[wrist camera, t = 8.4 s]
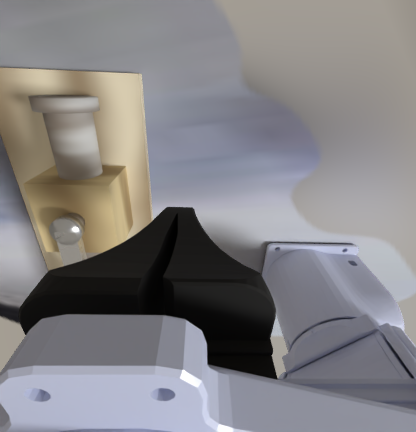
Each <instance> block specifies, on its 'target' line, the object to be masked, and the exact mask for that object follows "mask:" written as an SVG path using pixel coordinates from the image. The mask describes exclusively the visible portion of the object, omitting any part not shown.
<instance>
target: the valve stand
mask: <svg viewBox="0 0 416 432" xmlns="http://www.w3.org/2000/svg"><path fill="white" fill-rule="evenodd" d="M0 134H1V137H2V140H3V143H4V146H5V148H6V151H7V154H8V157H9V160H10V163H11V165H12V168H13V171H14V174H15V177H16V180H17V182H18V185H19V188H20V191H21V194H22V197H23V200H24V202H25V205H26V208H27V211H28V214H29V217H30V219H31V222H32V225H33V228H34V231H35V234H36V236H37V239H38V242H39V245H40V248H41V251H42V253H43V256H44V259H45V262H46V265H47V268H48V271H49V270H52V269H56V268H59V267H62V266H64V265H63V262H62V258H61V255H60V251H59V248H58V244H57V241H55V240H54V239H53V238H52V236H51V235H50V233H49V226H50V224H51V223H52V222H53V221H54V220H55V219H56V218H57V217H59V216H61V215H71V216H74V217H76V218H78V219H79V220H80V221H81V222H82V223H83V225H84V228H85V232H84V234H83V236H82V239H83V243H84V247H85V252H86V256H87V259H88V258H90V257H93V256H95V255H98V254H100V253H103V252H105V251H107V250H109V249H111V248H113V247H115V246H117V245H119V244H121V243H123V242H124V241H126V240H128V239H129V238H131V237H132V236H134V235H135V234H137V233H138V232H140V231H141V230H142V229H143V228H145V227H146V226H147V225H148V224H149V223H151V222H152V221H153V214H152V201H151V188H150V175H149V163H148V150H147V137H146V124H145V111H144V99H143V86H142V74H133V73H111V72H88V71H66V70H44V69H21V68H0Z"/></svg>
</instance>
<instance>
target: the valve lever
mask: <svg viewBox="0 0 416 432" xmlns="http://www.w3.org/2000/svg"><path fill="white" fill-rule="evenodd" d="M84 232H85V228H84V225H83V223H82V222H81V221H80V220H79V219H78V218H76V217H74V216H71V215H61V216H59V217H57V218H56V219H55V220H54V221H53V222H52V223H51V224H50V226H49V233H50V235H51V236H52V238H53V239H54V240H55V241H57V244H58V248H59V251H60V255H61V258H62V262H63V265H64V266H66V265H69V264H73V263H76V262H79V261H82V260H85V259H87V256H86V252H85V247H84V243H83V239H82V236H83V234H84Z"/></svg>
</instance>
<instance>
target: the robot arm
mask: <svg viewBox="0 0 416 432" xmlns="http://www.w3.org/2000/svg"><path fill="white" fill-rule="evenodd" d="M276 247H279V248H278V249H275V248H276ZM343 249H344V250H343ZM358 251H359V248H358V246H356V245H343V244H293V243H270V244H269V245H268V246H267V250H266V255H265V261H264V266H263V271H262V275H261V274H260V273H259V272H257V271H255V270H253V269H250V268H248V267H246V266H244V265H242V264H241V263H239V262H237V261H236V260H234V259H233V258H231V257H230V256H228V255H227V254H226V253H225V252H223V251H222V250H221V249H220V248H219V247H217V245H216V244H215V243H214V242H213V241H212V240H211V239H210V238H209V236H208V235H207V234H206V232H205V231H204V229H203V228H202V226H201V224H200V223H199V221H198V219H197V217H196V214H195V211H194V209H193V208H189V207H167V208H165V209H164V210H163V211H162V212H161V213H160V214H159V215H158V216H157V217H156V218H155V219H154V220H153V221H152V222H151V223H149V224H148V225H147V226H146V227H145V228H143V229H142V230H141V231H140V232H138V233H137V234H135V235H134V236H132V237H131V238H129V239H128V240H126V241H124V242H123V243H121V244H119V245H117V246H115V247H113V248H111V249H109V250H107V251H105V252H103V253H100V254H98V255H95V256H93V257H90V258H88V259H85V260H82V261H79V262H76V263H73V264H69V265H66V266H62V267H59V268H56V269H52V270H49V271H48V273H47V274H46V275H45V276H44V277H43V278H42V280H41V281H40V282H39V283H38V285H37V286H36V287H35V288H34V290H33V291H32V292H31V293H30V295H29V296H28V297H27V298H26V300H25V301H24V303H23V304H22V306H21V307H20V309H19V316H18V317H19V320H20V324H21V327H22V329H23V331H24V333H25V335H26V336H25V338H24V339H23V340H22V342H21V344H20V345H19V346H18V348H17V349H16V351H15V352H14V354H13V355H12V356H11V358H10V359H9V361H8V362H7V364H6V365H5V367H4V368H3V370H2V371H1V372H0V432H416V346H415V345H414V343H413V342H412V341H411V340H410V338H409V337H408V336H407V335H406V334H405V332H404V320H403V316H402V314H401V311H400V308H399V306H398V304H397V302H396V300H395V299H394V297H393V296H392V295H391V293H390V292H389V291H388V290H387V289H386V288H385V287H384V285H383V284H382V283H381V282H380V281H379V280H378V279H377V277H376V276H375V275H374V274H373V273H372V272H371V271H370V270H369V268H368V267H367V266H366V265H365V264H364V263H363V262H362V260H361V259H360V258H359V257H358V256H357V254H358ZM276 315H277V318H278V321H279V324H280V327H281V330H282V333H283V337H284V339H285V343H286V346H287V349H288V352H289V353H288V354H286V355H285V356H283V357H282V359H283V362H284V366H285V369H286V372H284V373H282V374H281V375H280V376H279V378H278V379H277V375H276V372H275V368H274V363H273V359H272V356H271V355H272V354H273V348H272V344H271V340H270V337H271V333H272V329H273V325H274V321H275V316H276Z"/></svg>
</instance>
